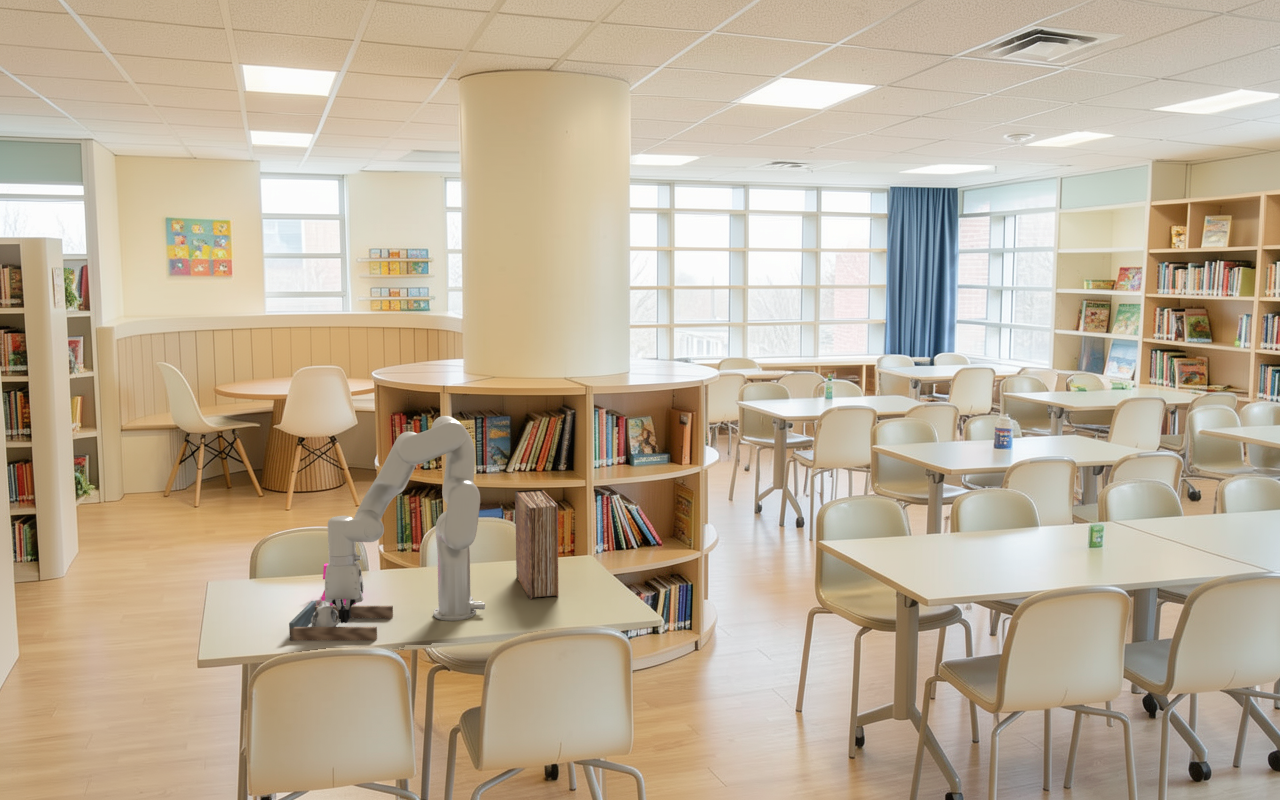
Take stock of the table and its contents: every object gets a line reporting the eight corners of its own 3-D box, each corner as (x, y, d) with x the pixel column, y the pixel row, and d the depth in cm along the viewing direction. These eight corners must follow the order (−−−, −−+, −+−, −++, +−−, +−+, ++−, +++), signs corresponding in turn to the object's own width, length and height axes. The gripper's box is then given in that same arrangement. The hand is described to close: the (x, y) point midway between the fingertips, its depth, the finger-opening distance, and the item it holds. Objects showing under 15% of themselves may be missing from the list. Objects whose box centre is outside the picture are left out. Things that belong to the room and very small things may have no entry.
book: (558, 597, 308) (557, 504, 305) (529, 600, 306) (528, 506, 302) (542, 575, 332) (542, 489, 329) (516, 577, 330) (515, 490, 326)
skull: (309, 629, 272) (308, 591, 279) (313, 643, 278) (311, 607, 286) (338, 624, 273) (336, 587, 281) (341, 639, 280) (339, 603, 288)
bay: (393, 617, 290) (392, 600, 289) (376, 640, 270) (375, 623, 270) (312, 617, 289) (311, 600, 289) (289, 640, 270) (289, 623, 270)
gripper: (372, 555, 281) (374, 617, 284) (320, 556, 281) (323, 617, 283) (365, 563, 274) (367, 625, 276) (312, 563, 274) (314, 626, 276)
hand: (345, 621), depth 280 cm, fingers closed
